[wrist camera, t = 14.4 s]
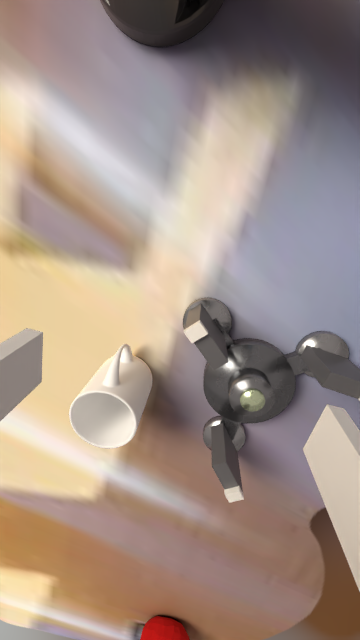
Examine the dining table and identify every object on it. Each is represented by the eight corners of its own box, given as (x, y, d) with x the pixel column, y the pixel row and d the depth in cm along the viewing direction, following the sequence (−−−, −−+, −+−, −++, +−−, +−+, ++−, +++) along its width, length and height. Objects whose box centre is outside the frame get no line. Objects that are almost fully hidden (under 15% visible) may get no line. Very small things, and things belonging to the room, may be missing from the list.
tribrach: (190, 291, 37) (187, 302, 31) (353, 338, 37) (379, 358, 31) (151, 428, 45) (143, 456, 40) (284, 467, 45) (294, 500, 39)
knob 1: (224, 337, 37) (229, 364, 29) (212, 344, 38) (213, 373, 30) (201, 302, 36) (199, 322, 28) (188, 310, 36) (183, 332, 29)
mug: (160, 338, 40) (144, 374, 30) (149, 403, 44) (132, 455, 34) (105, 326, 40) (71, 358, 30) (99, 392, 44) (67, 440, 34)
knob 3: (299, 357, 37) (324, 390, 29) (306, 344, 36) (333, 374, 28) (340, 370, 37) (375, 407, 29) (347, 358, 36) (386, 392, 29)
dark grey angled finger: (210, 426, 42) (211, 470, 34) (223, 422, 42) (226, 466, 34) (225, 454, 44) (229, 502, 36) (237, 451, 43) (243, 499, 35)
